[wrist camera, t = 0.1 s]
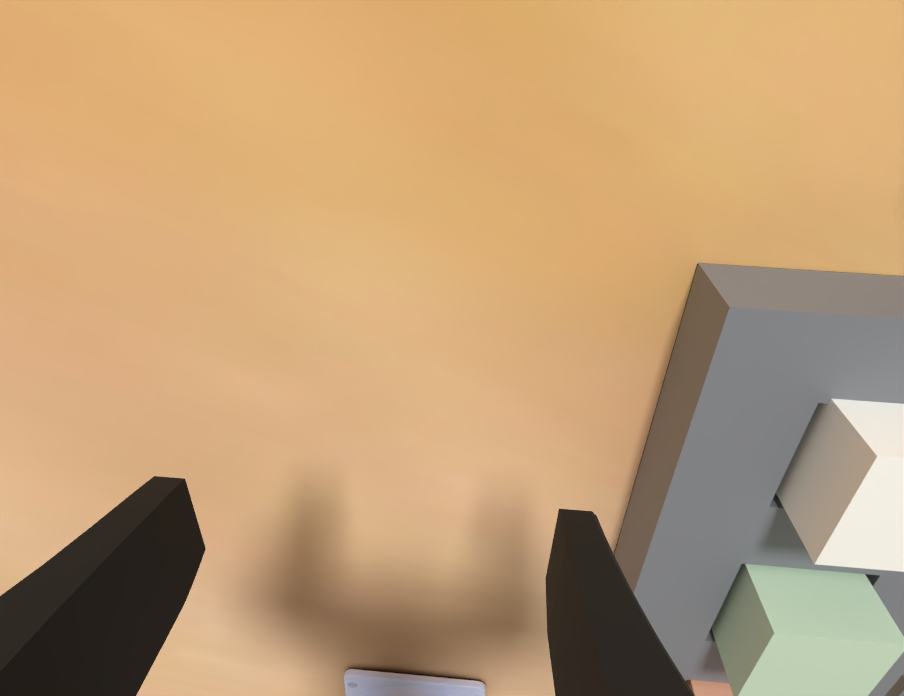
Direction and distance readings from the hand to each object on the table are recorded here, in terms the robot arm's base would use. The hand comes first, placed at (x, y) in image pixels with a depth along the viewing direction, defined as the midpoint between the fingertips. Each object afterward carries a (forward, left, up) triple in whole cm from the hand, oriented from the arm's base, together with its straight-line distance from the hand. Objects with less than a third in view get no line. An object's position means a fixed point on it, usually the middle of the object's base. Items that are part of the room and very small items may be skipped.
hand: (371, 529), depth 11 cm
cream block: (-3, -15, -9) cm, 17 cm away
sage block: (-11, -15, -9) cm, 20 cm away
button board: (-11, -15, -10) cm, 21 cm away
